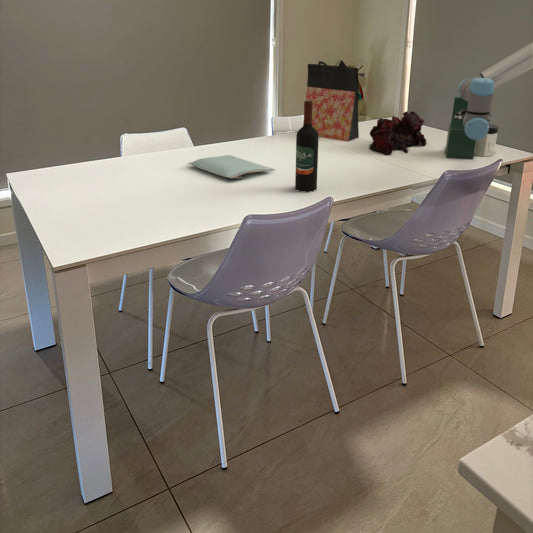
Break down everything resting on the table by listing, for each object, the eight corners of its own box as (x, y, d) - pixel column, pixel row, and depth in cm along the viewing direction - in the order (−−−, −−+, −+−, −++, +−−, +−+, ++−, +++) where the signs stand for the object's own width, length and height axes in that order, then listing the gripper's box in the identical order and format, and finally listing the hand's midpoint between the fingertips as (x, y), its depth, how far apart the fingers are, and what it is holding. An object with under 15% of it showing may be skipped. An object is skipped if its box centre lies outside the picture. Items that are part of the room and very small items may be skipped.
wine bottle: (321, 189, 206) (324, 102, 194) (304, 193, 202) (306, 104, 190) (307, 184, 212) (310, 98, 199) (290, 187, 208) (292, 101, 195)
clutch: (228, 162, 245) (187, 166, 232) (228, 151, 243) (187, 155, 230) (272, 176, 225) (231, 182, 213) (273, 165, 224) (231, 170, 211)
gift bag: (298, 135, 284) (300, 58, 269) (314, 129, 294) (316, 56, 279) (352, 143, 268) (357, 62, 253) (366, 137, 278) (372, 60, 263)
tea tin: (445, 150, 256) (449, 123, 251) (470, 151, 254) (474, 124, 249) (446, 157, 245) (450, 129, 240) (472, 159, 243) (477, 130, 238)
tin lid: (454, 96, 232) (454, 97, 231) (483, 97, 230) (483, 98, 229) (450, 127, 241) (450, 128, 240) (477, 129, 238) (477, 130, 238)
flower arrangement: (396, 157, 246) (400, 121, 240) (357, 149, 258) (359, 114, 252) (433, 144, 267) (437, 110, 261) (395, 137, 279) (398, 105, 273)
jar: (479, 157, 246) (483, 128, 241) (469, 152, 253) (473, 124, 248) (498, 155, 248) (503, 127, 243) (487, 151, 255) (492, 123, 250)
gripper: (453, 130, 212) (450, 118, 233) (491, 132, 210) (485, 119, 230) (456, 109, 209) (453, 98, 230) (494, 111, 206) (488, 100, 227)
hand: (469, 109), depth 230 cm, fingers closed
